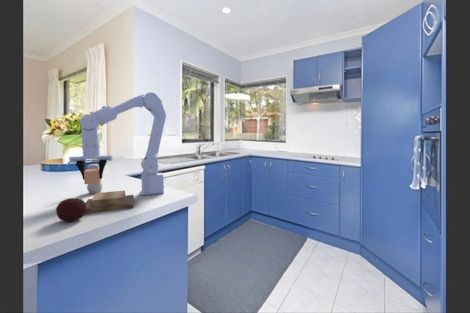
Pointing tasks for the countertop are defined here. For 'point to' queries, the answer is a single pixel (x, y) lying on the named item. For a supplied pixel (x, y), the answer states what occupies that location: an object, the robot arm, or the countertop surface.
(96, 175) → the cube
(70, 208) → the potato
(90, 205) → the base
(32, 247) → the countertop surface
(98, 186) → the salt shaker
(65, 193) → the countertop surface
